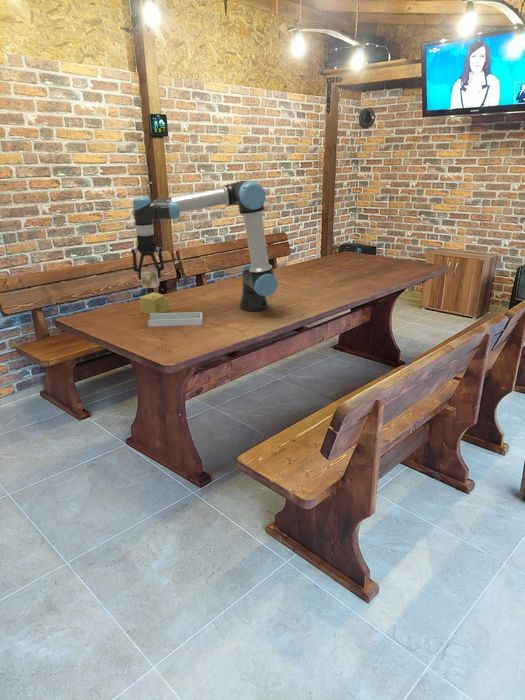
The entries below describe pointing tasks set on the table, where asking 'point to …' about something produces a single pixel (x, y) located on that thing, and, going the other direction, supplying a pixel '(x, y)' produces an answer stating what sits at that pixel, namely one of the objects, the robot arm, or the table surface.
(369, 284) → the table surface
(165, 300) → the cheese
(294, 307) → the table surface
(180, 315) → the channel
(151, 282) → the block
